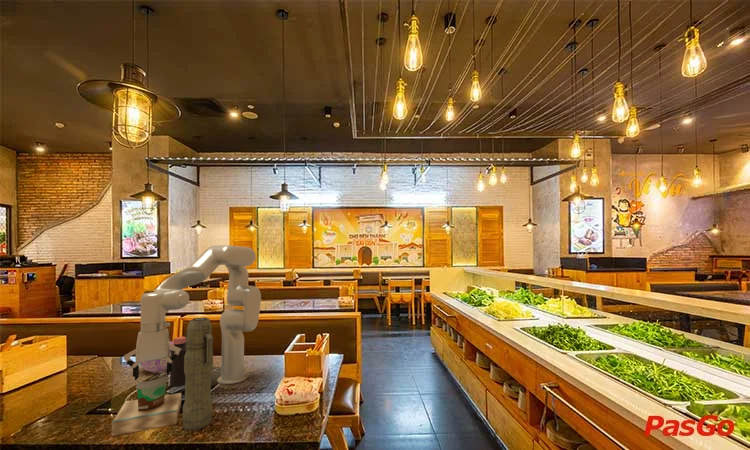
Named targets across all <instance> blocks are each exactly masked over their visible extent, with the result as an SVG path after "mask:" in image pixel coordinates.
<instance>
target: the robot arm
mask: <svg viewBox="0 0 750 450" xmlns="http://www.w3.org/2000/svg"><path fill="white" fill-rule="evenodd" d="M255 261H256V252H255V250H254V249H252V248H251V247H249V246H236V245H225V244H224V245H223V244H222V245H211V246H209V247H207V248H206V249H205V250H204V251H203V252H202V253H201V254H200V255H199V256H198V257H197V258H196V259H195V260H193V262H192V263H191V264H190V265H189V266H187V267H185V268H184V269H181V270H180V271H178V272H176V273H174V274H173V275H171V276H169V277H168V278H166V279H165V280H163V282H161V284H159V285H158V286H157V288H155V289H154V291H153V292H146V293H143V294H142V295H141V297H140V331H138V333H137V339H136V346H135V348H134V349H133V350H132V351H129V352H128V353H127V354H125V355H123V360H124V361H125V362H126V364H127V365H129V367H131V369H132V377H133V378H134V380H135V381H136V380H138V378H139V377H140V366H139V364H141V363H140V362H144V361H151V360H159V359H165V360H166V361H167V371H166V372H167V375H168V376H170V371H172V361H173V360H174V359H175V358H176V357H177V356H178V354H179V352H180V350H181V348H178V347H175V346H172V345H170V342H171V341H170V333H169V329H168V328H167V327H170V326H171V322H167V320H166V312H167V311H174V310H175V311H176V310H181V309H183V308H184V307H186V306H187V305H188V304H189V301H190V295H189V293H188V292H187V291H185V290H183V289H185V288H189V287H191V286H194V285H198V284H201V283H203V282H205V281H206V280H207V279H208V278H209V277H210V276H211V275H212V274H213V273H214V272H215V270H216V269H217V268H218V267H219V266H225V267H226V269H227V270H228V276H229V277H228V278H229V279H228V287H227V293H226V302H227V303H228V305H230V306H233V307H235V306H236V307H243V308H242V309H241V308H229V309H226V310H225V311H223V312H222V313H221V315H220V318H219V326H220V331H221V365H220V366H221V369H220V370H221V372H220V373H221V375H220V376H219V377H218V378H217V381H216V382H217V383H218V384H219V385H220V384H221V385H234V384H238V383H239V384H240V383H241V382H244V381H245V380H247V379H248V375H249V374H255V368H250V367H249V368H245V364H244V363H245V336H244V333H243V332H246V333H247V332H252V331H255V329H256V328H257V326H258V323H259V318H260V310H261V303H262V295H261V290H260V289H259V288H258V287H257V286H255V285H249V272H248V271H249V270H248V269H247V267H249V266H252V265H253V264H254V262H255ZM170 350H173V351H175V354H174V355H173V356H172V357H171V356H170V355H169V353H170ZM132 356H135V357H134V358H135V361H134V360H133V359H131V357H132Z"/></svg>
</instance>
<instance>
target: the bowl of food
mask: <svg viewBox="0 0 750 450" xmlns="http://www.w3.org/2000/svg"><path fill="white" fill-rule="evenodd" d="M173 342H174V341H170V345H172V346H174V344H173ZM169 355H170V356H171V350H170V353H169ZM139 364H140V366H141V367H142V369H143V370H144V371H147V372H150V373H152V374H159V371H164V372H167V361H166V360H165V359H159V360H151V361H144V362H140V363H139Z"/></svg>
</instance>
